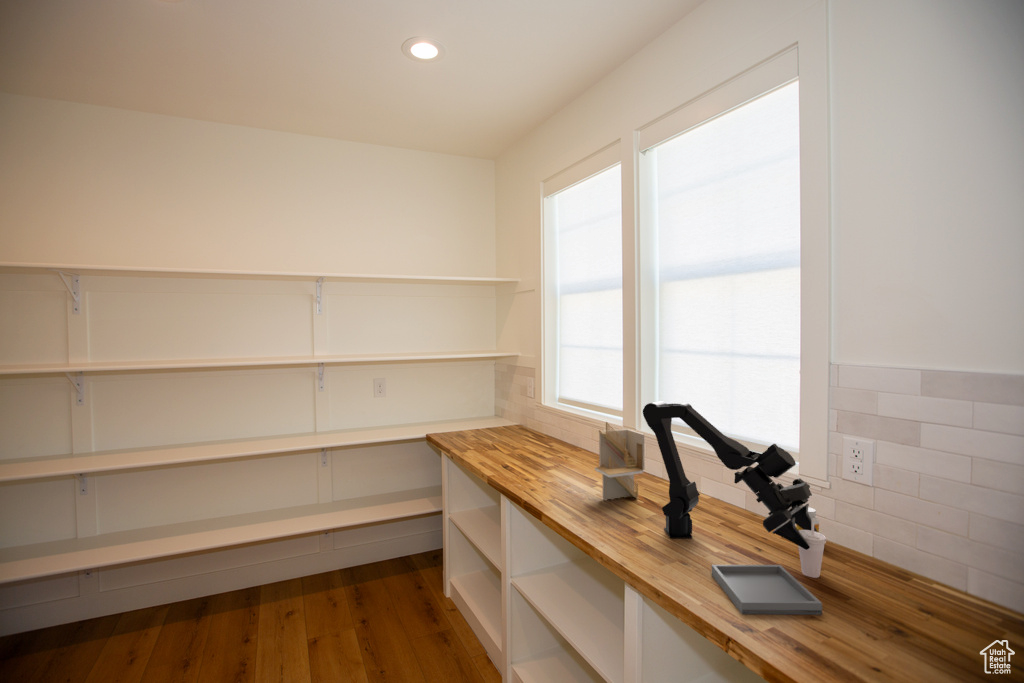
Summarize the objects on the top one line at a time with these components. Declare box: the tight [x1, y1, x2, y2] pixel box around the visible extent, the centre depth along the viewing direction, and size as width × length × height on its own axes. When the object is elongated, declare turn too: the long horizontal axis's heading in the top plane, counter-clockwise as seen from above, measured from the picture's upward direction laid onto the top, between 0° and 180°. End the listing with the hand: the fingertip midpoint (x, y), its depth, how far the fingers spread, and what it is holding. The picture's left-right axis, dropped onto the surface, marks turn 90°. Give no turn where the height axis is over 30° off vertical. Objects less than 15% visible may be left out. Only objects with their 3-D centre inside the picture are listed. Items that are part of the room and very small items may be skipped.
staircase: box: [594, 421, 645, 501], centre depth 168 cm, size 10×16×29 cm, turn 111°
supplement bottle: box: [795, 506, 820, 533], centre depth 135 cm, size 5×5×10 cm
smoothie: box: [797, 518, 827, 579], centre depth 118 cm, size 6×6×14 cm
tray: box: [710, 564, 823, 616], centre depth 110 cm, size 17×17×2 cm
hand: (813, 542), depth 118 cm, fingers open, 9 cm apart
